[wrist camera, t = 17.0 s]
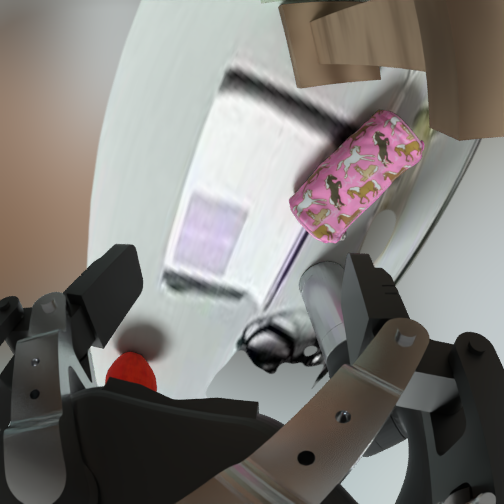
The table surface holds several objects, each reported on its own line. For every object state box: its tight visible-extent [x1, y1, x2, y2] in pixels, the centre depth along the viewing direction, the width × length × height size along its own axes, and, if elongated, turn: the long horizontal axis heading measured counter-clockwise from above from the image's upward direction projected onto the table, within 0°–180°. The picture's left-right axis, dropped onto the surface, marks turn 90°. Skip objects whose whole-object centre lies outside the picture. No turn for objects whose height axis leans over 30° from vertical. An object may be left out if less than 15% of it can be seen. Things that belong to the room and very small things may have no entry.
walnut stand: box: [278, 0, 504, 141], centre depth 19 cm, size 16×12×32 cm
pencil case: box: [289, 110, 424, 243], centre depth 39 cm, size 21×9×9 cm, turn 139°
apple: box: [105, 352, 157, 391], centre depth 57 cm, size 12×12×13 cm
